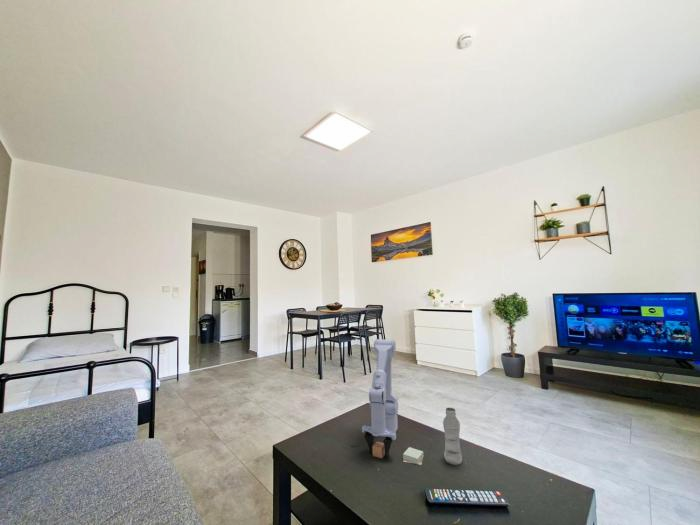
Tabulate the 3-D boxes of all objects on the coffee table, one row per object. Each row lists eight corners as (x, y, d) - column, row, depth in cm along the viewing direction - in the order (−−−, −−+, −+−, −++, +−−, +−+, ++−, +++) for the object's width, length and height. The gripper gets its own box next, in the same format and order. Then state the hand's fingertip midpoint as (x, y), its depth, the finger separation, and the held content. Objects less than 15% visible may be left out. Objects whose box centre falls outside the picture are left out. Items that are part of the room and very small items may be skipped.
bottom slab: (406, 457, 114) (405, 451, 114) (423, 460, 111) (423, 454, 112) (403, 467, 107) (403, 461, 108) (421, 470, 105) (421, 464, 105)
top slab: (409, 452, 114) (409, 447, 114) (423, 456, 110) (423, 451, 110) (403, 459, 109) (403, 453, 109) (417, 464, 105) (417, 458, 106)
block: (376, 454, 115) (376, 441, 116) (385, 456, 113) (385, 443, 114) (372, 459, 112) (372, 446, 112) (381, 462, 110) (381, 448, 110)
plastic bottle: (441, 464, 107) (438, 409, 110) (449, 456, 112) (446, 404, 115) (458, 471, 103) (455, 414, 105) (465, 463, 108) (461, 408, 110)
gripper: (358, 418, 114) (358, 454, 113) (391, 426, 107) (392, 464, 106) (365, 412, 120) (366, 446, 119) (397, 419, 113) (398, 455, 112)
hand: (379, 454), depth 113 cm, fingers open, 6 cm apart
